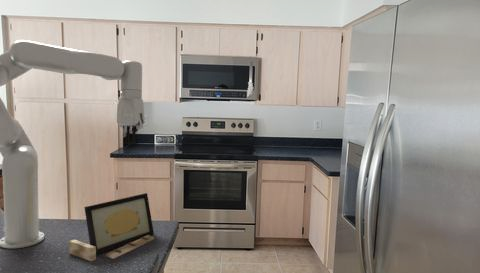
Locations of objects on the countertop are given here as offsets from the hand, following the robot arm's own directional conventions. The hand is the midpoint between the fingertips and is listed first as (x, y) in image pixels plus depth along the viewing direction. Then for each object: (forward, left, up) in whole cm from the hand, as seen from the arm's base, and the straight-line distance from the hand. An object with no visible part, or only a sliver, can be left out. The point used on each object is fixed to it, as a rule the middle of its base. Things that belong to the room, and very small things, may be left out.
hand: (130, 143), depth 128 cm
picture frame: (+8, -13, -32) cm, 36 cm away
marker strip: (+15, -14, -32) cm, 38 cm away
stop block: (+8, -27, -32) cm, 42 cm away
